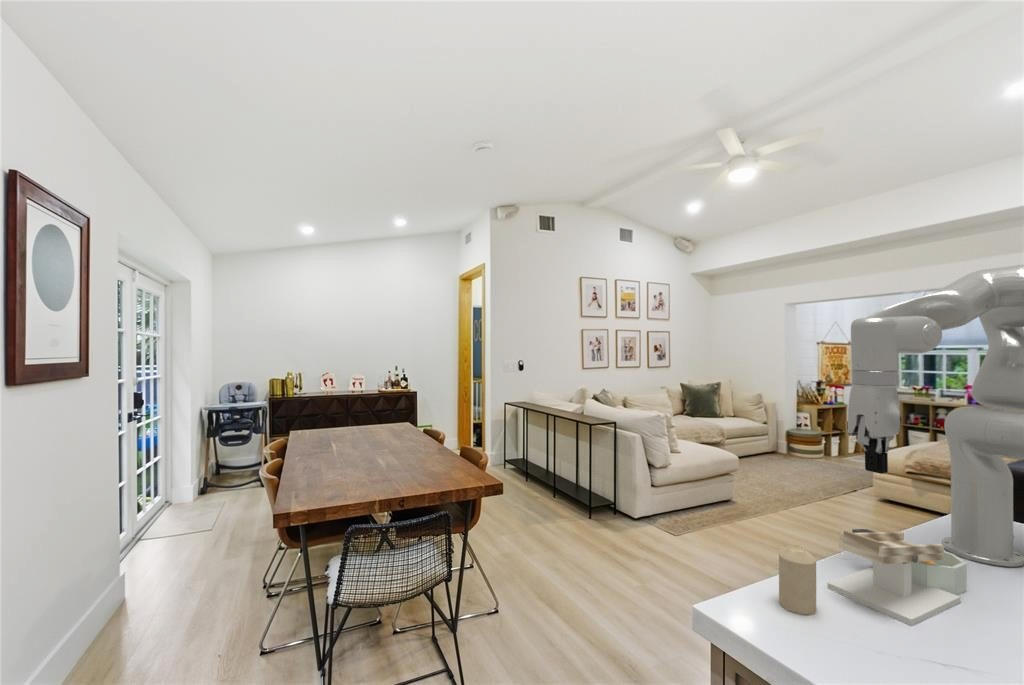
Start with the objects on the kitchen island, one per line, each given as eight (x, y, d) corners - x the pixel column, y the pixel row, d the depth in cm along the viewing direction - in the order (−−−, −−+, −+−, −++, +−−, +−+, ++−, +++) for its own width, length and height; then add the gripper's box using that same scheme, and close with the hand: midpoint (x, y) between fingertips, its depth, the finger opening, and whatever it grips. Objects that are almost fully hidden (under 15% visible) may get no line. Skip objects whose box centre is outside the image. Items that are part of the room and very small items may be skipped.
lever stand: (876, 570, 94) (876, 536, 94) (960, 602, 82) (960, 563, 82) (827, 587, 87) (827, 551, 87) (911, 625, 75) (911, 583, 75)
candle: (822, 617, 78) (822, 556, 78) (785, 613, 79) (785, 553, 79) (808, 599, 83) (808, 542, 83) (774, 596, 84) (774, 540, 84)
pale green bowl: (909, 564, 96) (909, 539, 96) (974, 587, 87) (974, 560, 87) (881, 574, 92) (881, 549, 92) (947, 600, 83) (947, 571, 83)
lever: (867, 535, 97) (868, 519, 97) (944, 560, 85) (945, 542, 86) (807, 536, 88) (808, 519, 89) (883, 565, 77) (885, 544, 77)
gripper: (874, 376, 100) (876, 462, 100) (832, 380, 94) (833, 472, 93) (917, 378, 93) (919, 471, 93) (874, 382, 87) (876, 481, 87)
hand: (876, 471), depth 93 cm, fingers closed
